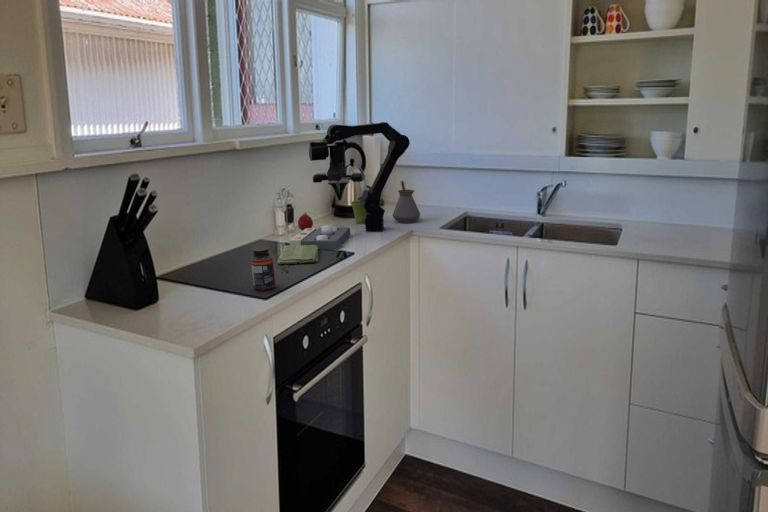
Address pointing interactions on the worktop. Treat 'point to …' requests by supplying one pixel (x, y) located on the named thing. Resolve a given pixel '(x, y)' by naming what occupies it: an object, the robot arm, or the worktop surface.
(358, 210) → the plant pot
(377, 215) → the robot arm
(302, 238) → the tile
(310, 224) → the onion
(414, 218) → the coffee pot
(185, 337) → the worktop surface
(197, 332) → the worktop surface
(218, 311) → the worktop surface
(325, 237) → the button
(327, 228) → the button
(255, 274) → the supplement bottle
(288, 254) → the washcloth
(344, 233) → the board
